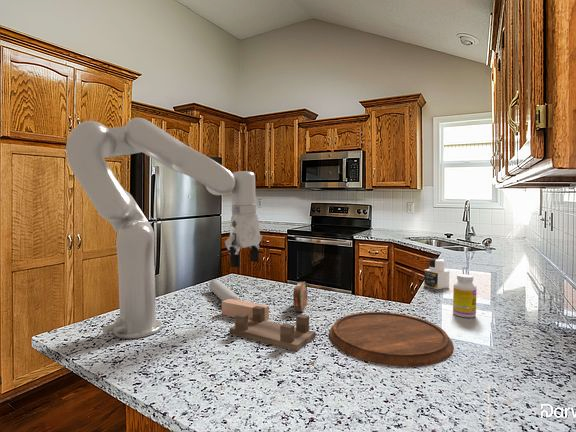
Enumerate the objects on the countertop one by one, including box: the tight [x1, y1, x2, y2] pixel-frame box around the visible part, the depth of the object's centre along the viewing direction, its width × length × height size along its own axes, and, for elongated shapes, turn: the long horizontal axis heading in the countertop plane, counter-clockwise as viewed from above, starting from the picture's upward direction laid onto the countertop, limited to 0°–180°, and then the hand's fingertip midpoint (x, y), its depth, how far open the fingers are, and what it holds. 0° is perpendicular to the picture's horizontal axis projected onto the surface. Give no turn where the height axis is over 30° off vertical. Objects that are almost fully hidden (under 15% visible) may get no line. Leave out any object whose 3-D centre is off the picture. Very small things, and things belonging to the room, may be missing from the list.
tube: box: [208, 278, 240, 302], centre depth 130 cm, size 5×5×25 cm
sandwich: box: [292, 281, 308, 313], centre depth 119 cm, size 15×3×8 cm, turn 168°
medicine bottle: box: [423, 257, 450, 290], centre depth 146 cm, size 7×7×12 cm
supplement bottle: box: [452, 273, 477, 319], centre depth 111 cm, size 7×7×13 cm
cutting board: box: [328, 311, 455, 368], centre depth 93 cm, size 32×32×3 cm
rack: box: [229, 306, 317, 352], centre depth 95 cm, size 10×22×6 cm, turn 58°
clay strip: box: [221, 299, 270, 321], centre depth 110 cm, size 4×16×4 cm, turn 59°
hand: (245, 264), depth 110 cm, fingers open, 9 cm apart
